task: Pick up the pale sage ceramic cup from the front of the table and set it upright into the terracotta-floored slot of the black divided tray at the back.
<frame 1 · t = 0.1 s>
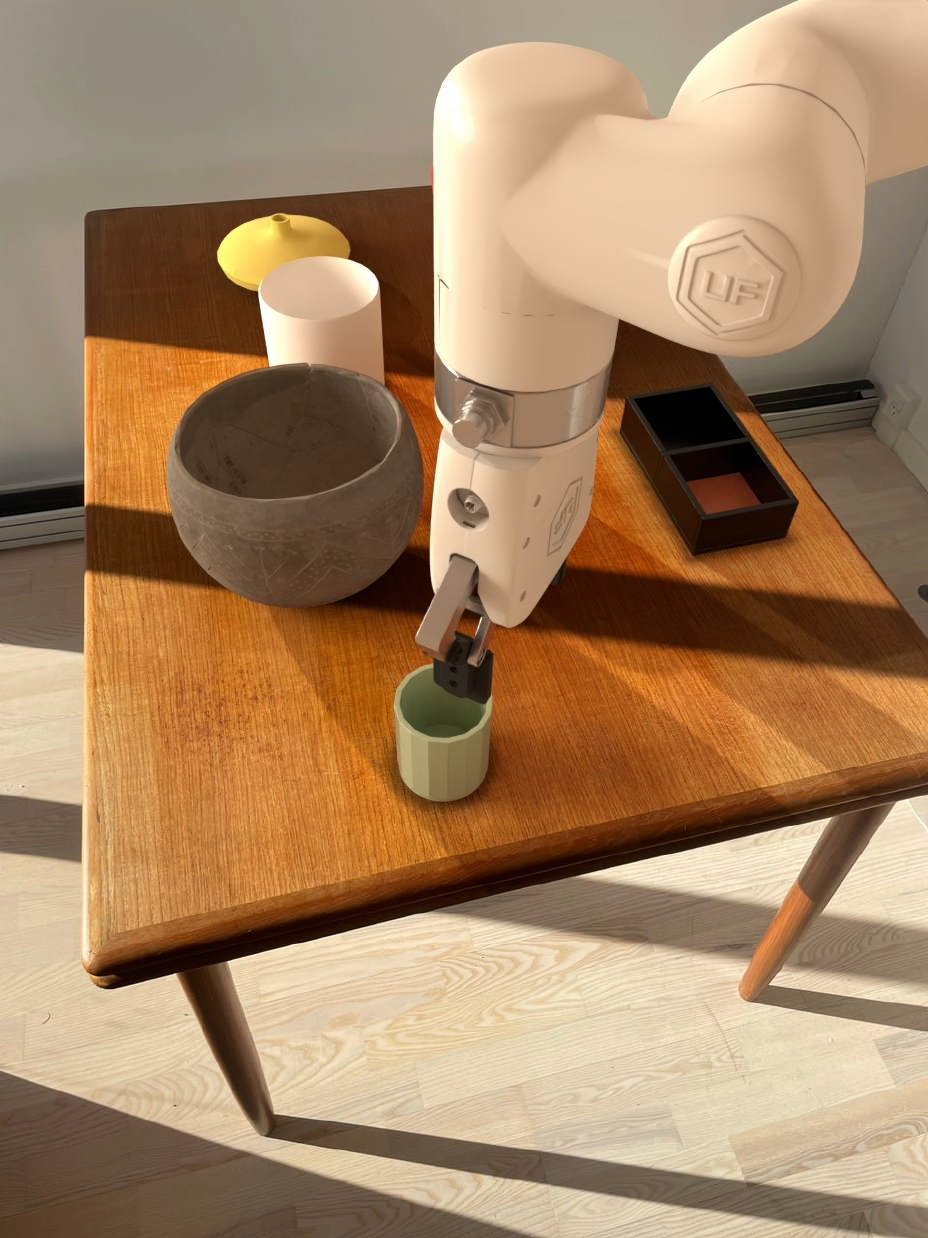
hand: (501, 629, 55), 21 cm above the table, tool pointing down, fingers open, 9 cm apart
sage cup: (443, 762, 73), on the table
vase: (287, 275, 118), on the table
bowl: (310, 560, 87), on the table
black divided tray: (698, 482, 94), on the table
cup: (329, 390, 103), on the table
coffee jar: (517, 501, 93), on the table
teapot: (543, 327, 112), on the table
apple: (464, 240, 124), on the table
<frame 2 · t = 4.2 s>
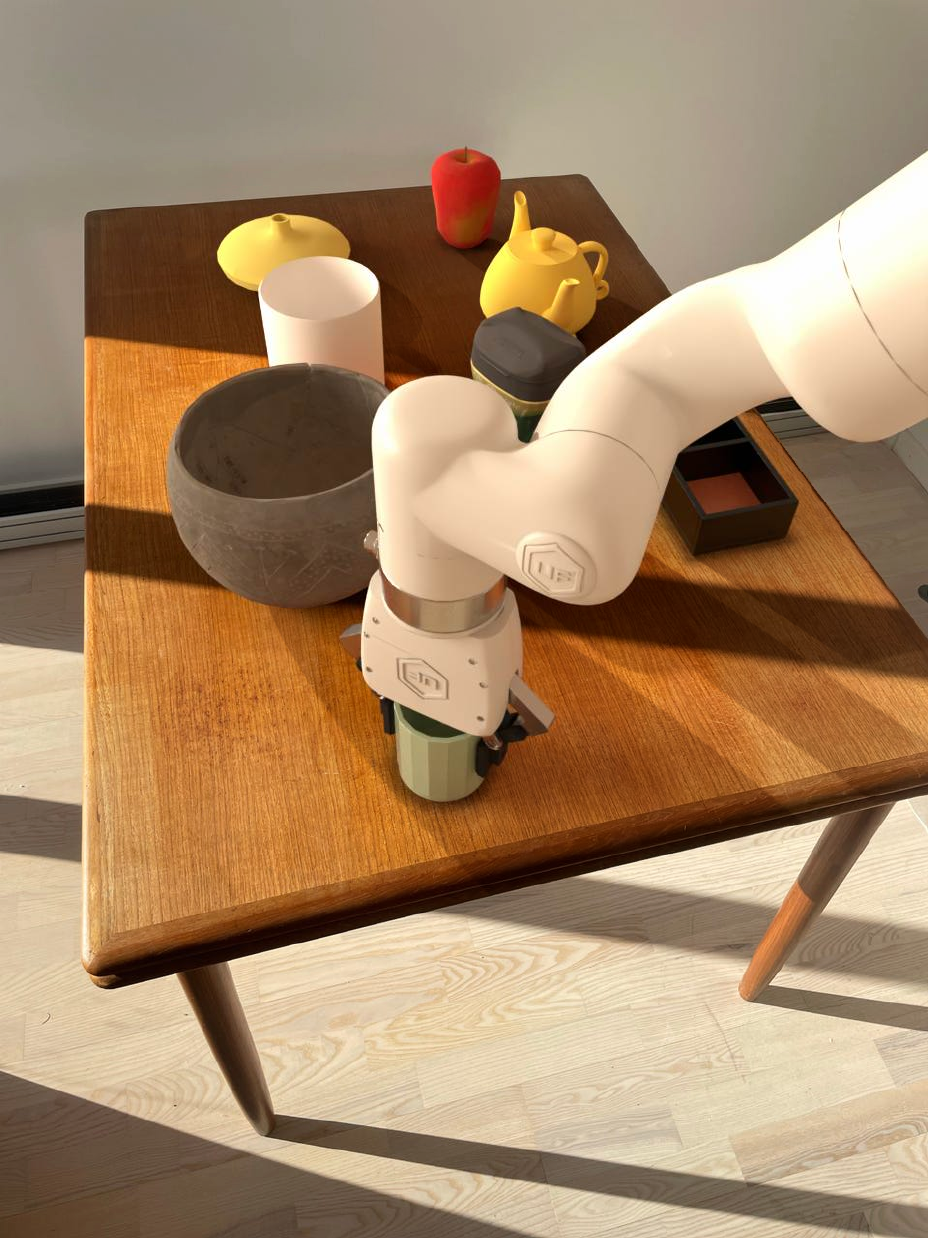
hand: (443, 739, 71), 3 cm above the table, tool pointing down, fingers closed on sage cup, 6 cm apart
sage cup: (443, 762, 73), on the table, touching gripper
everything else where it was.
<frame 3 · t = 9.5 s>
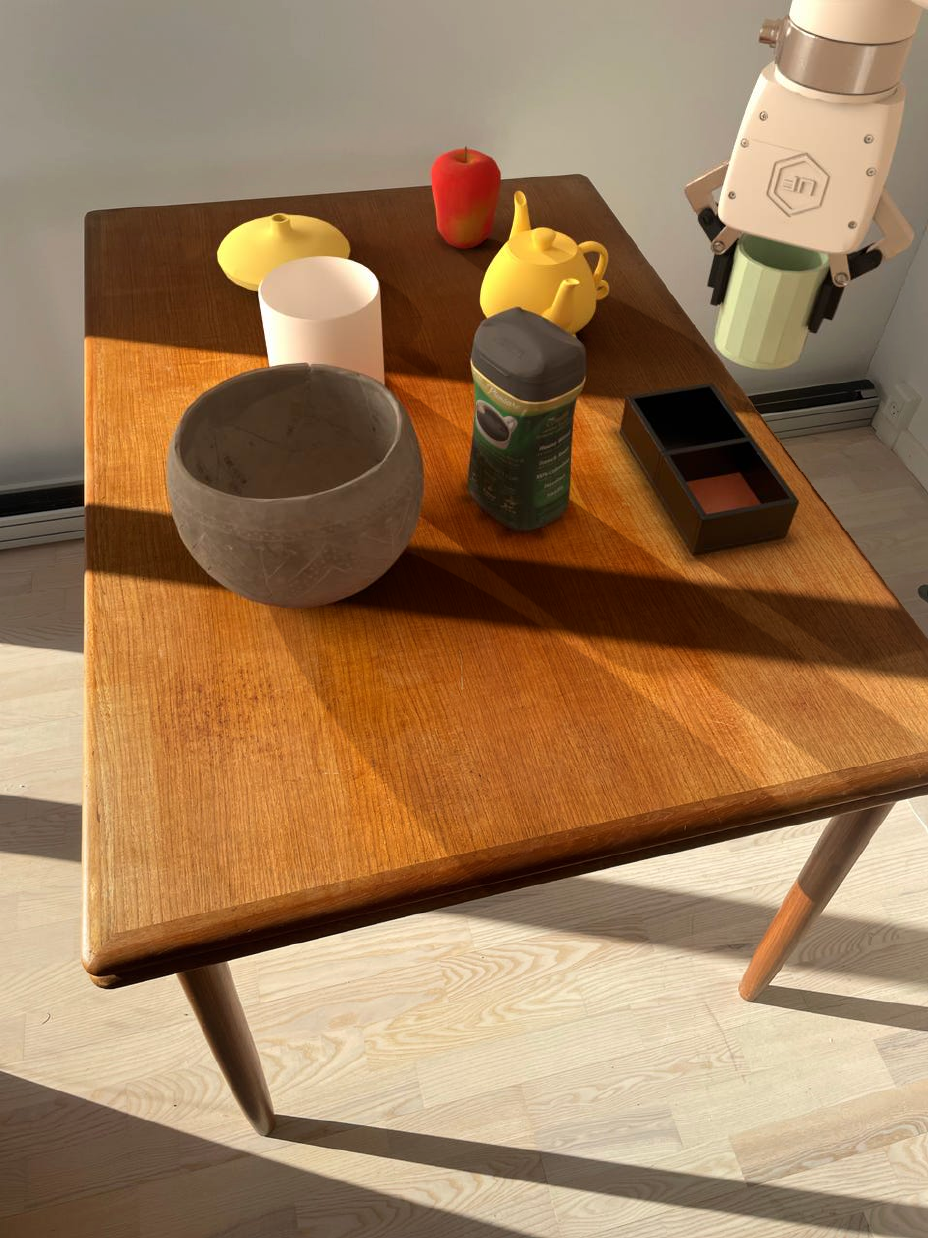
hand: (767, 308, 74), 23 cm above the table, tool pointing down, fingers closed on sage cup, 6 cm apart
sage cup: (757, 344, 76), point 19 cm above the table, touching gripper
everything else where it was.
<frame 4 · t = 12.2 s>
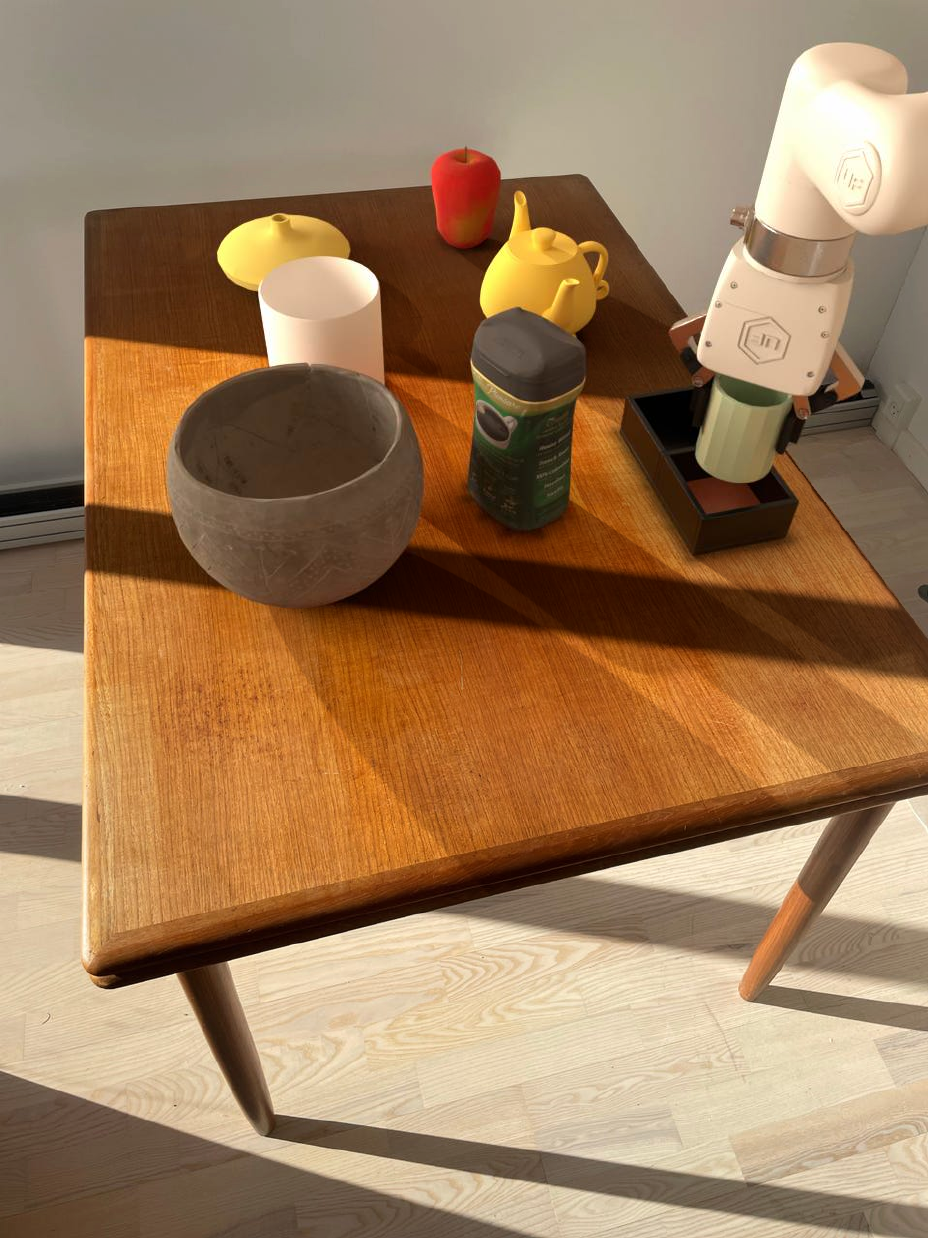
hand: (741, 430, 84), 10 cm above the table, tool pointing down, fingers closed on sage cup, 6 cm apart
sage cup: (733, 457, 87), point 7 cm above the table, touching gripper
everything else where it was.
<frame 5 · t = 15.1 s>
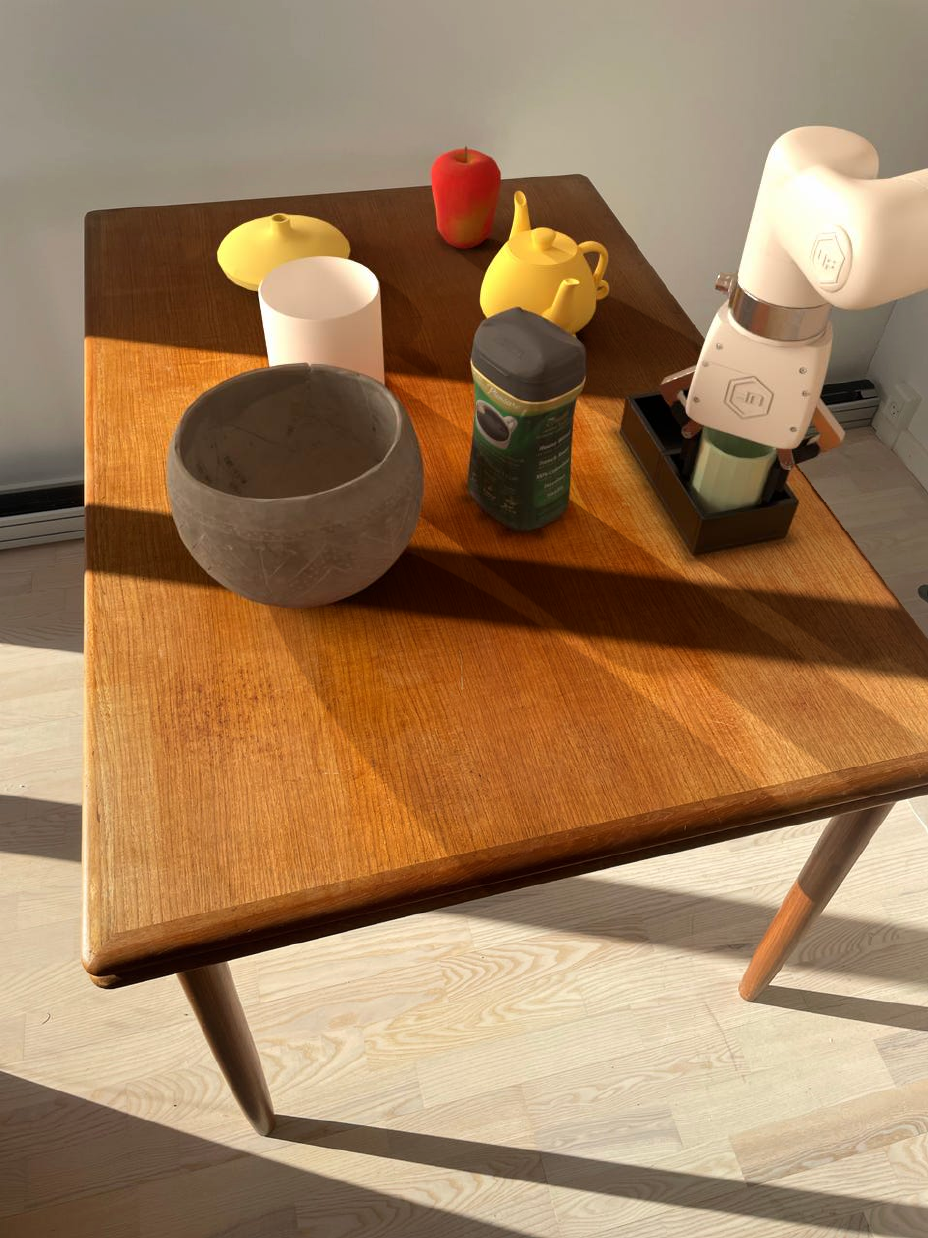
hand: (729, 478, 88), 5 cm above the table, tool pointing down, fingers closed on sage cup, 6 cm apart
sage cup: (722, 503, 91), point 1 cm above the table, touching gripper
everything else where it was.
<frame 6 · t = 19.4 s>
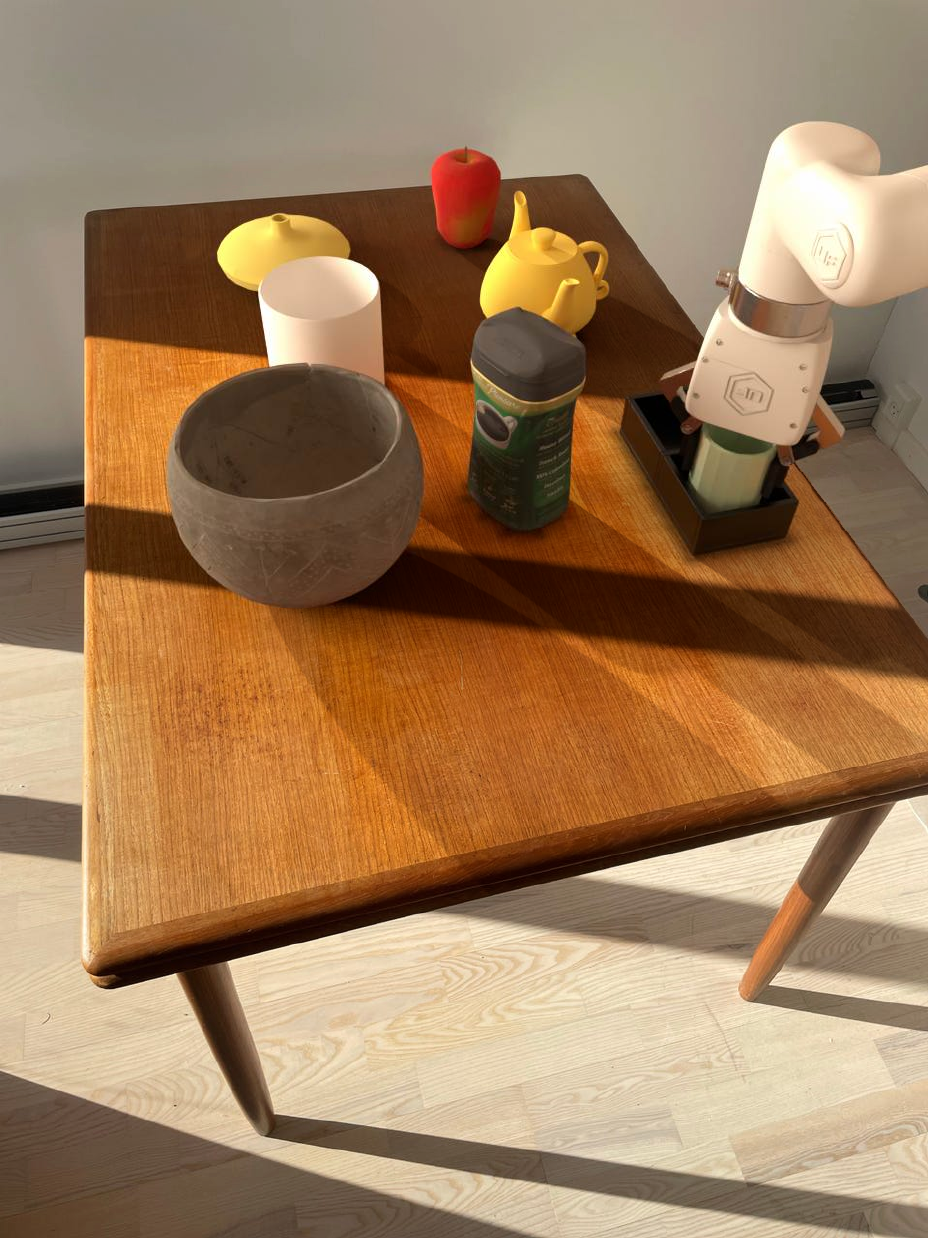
hand: (729, 474, 88), 5 cm above the table, tool pointing down, fingers closed on sage cup, 6 cm apart
sage cup: (721, 499, 90), point 2 cm above the table, touching gripper
everything else where it was.
when the fingers open (5 cm above the table, at t = 23.7 s): sage cup drops 1 cm, resting on black divided tray.
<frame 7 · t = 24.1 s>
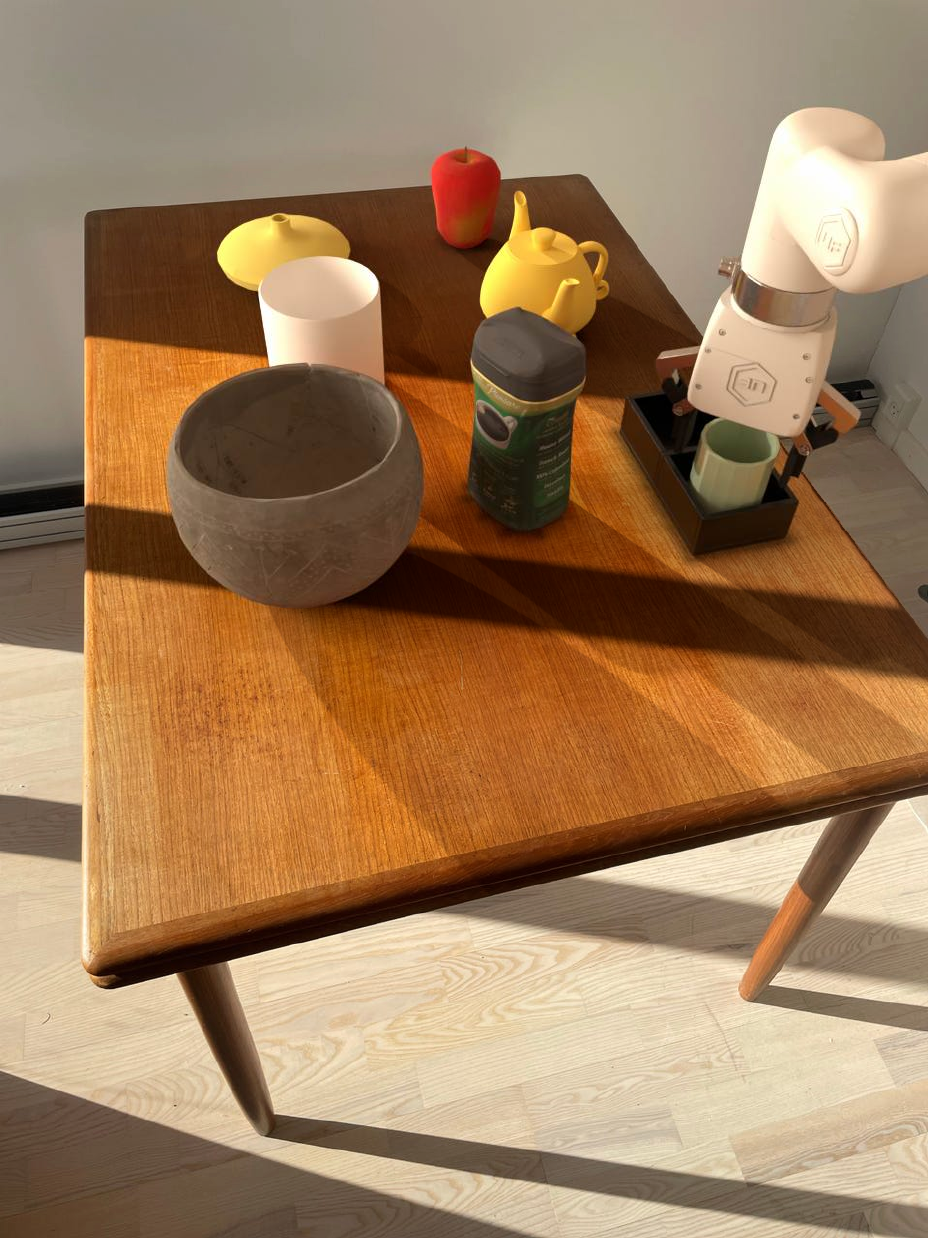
hand: (733, 461, 87), 6 cm above the table, tool pointing down, fingers open, 9 cm apart
sage cup: (720, 507, 91), point 1 cm above the table, touching black divided tray
everything else where it was.
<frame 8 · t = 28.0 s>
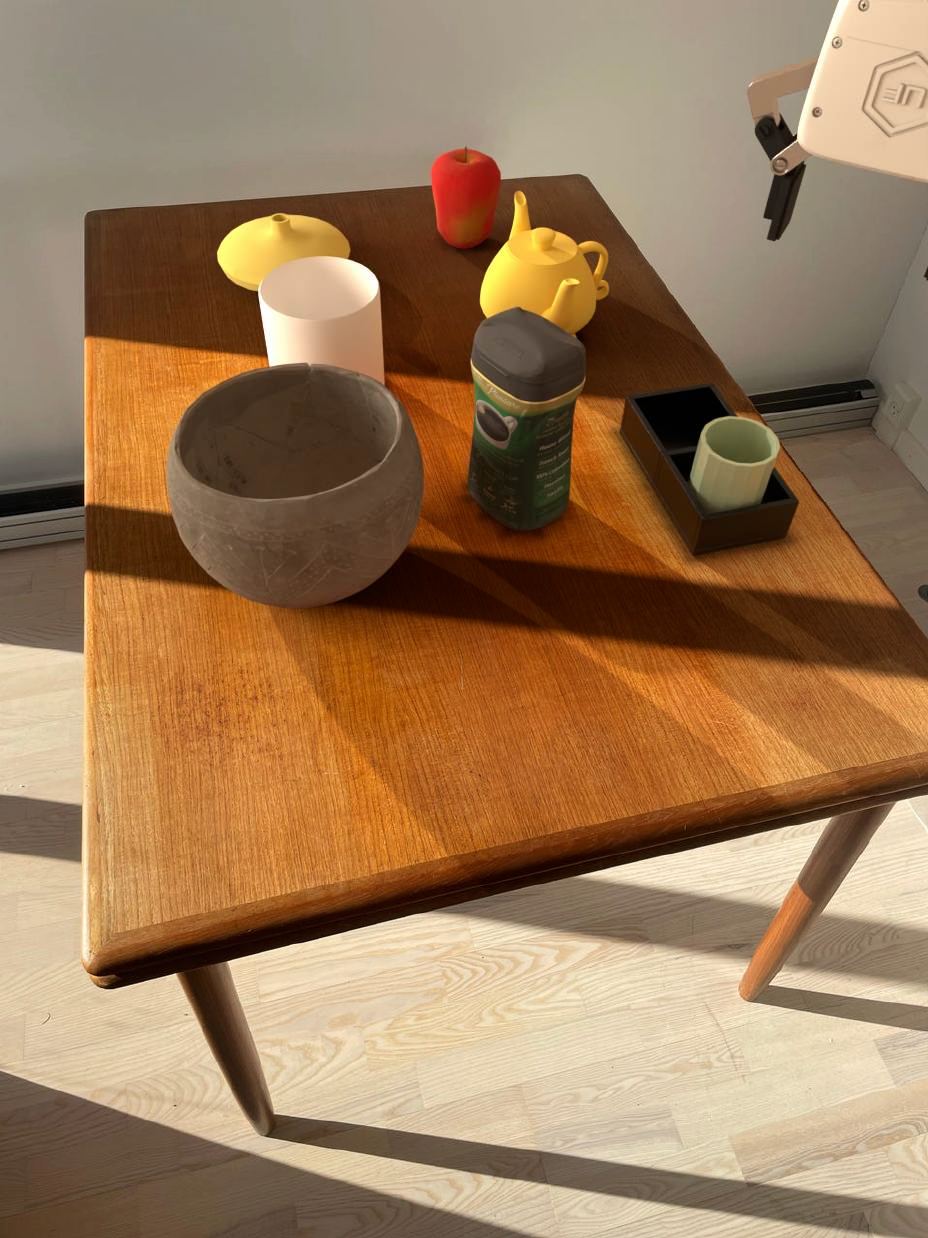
hand: (853, 250, 60), 32 cm above the table, tool pointing down, fingers open, 9 cm apart
nothing on the table moved.
at the end: sage cup 0.1 cm from the target spot in the black divided tray, point 0.8 cm above the black divided tray's base; sage cup tilted 0°; the gripper is holding nothing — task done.
